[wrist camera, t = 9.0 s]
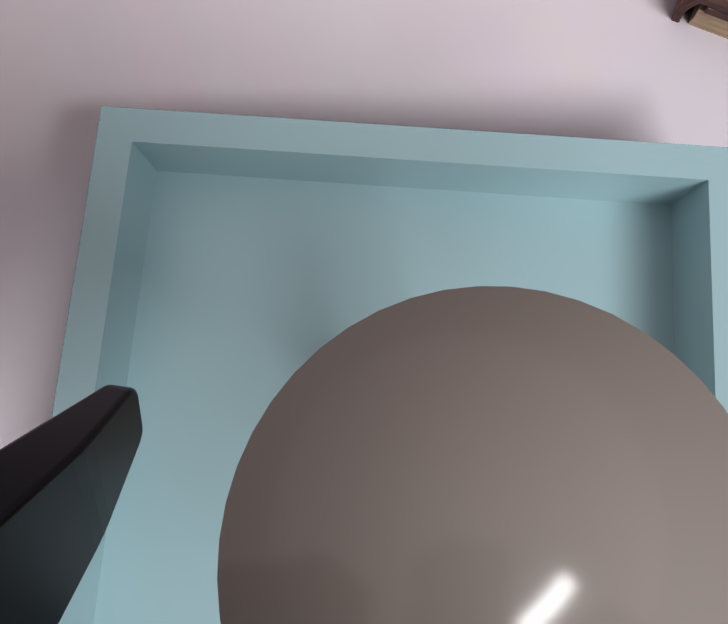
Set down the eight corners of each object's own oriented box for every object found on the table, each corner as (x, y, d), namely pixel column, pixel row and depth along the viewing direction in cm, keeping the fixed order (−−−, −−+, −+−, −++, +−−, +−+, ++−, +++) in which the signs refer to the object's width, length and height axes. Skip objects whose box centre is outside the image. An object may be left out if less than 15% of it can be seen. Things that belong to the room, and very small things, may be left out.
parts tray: (701, 807, 16) (776, 894, 13) (52, 756, 16) (-15, 831, 14) (685, 189, 19) (743, 148, 16) (141, 152, 20) (101, 106, 17)
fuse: (403, 554, 16) (542, 1041, 4) (298, 455, 17) (98, 585, 4) (495, 445, 17) (899, 541, 4) (391, 353, 17) (468, 183, 5)
